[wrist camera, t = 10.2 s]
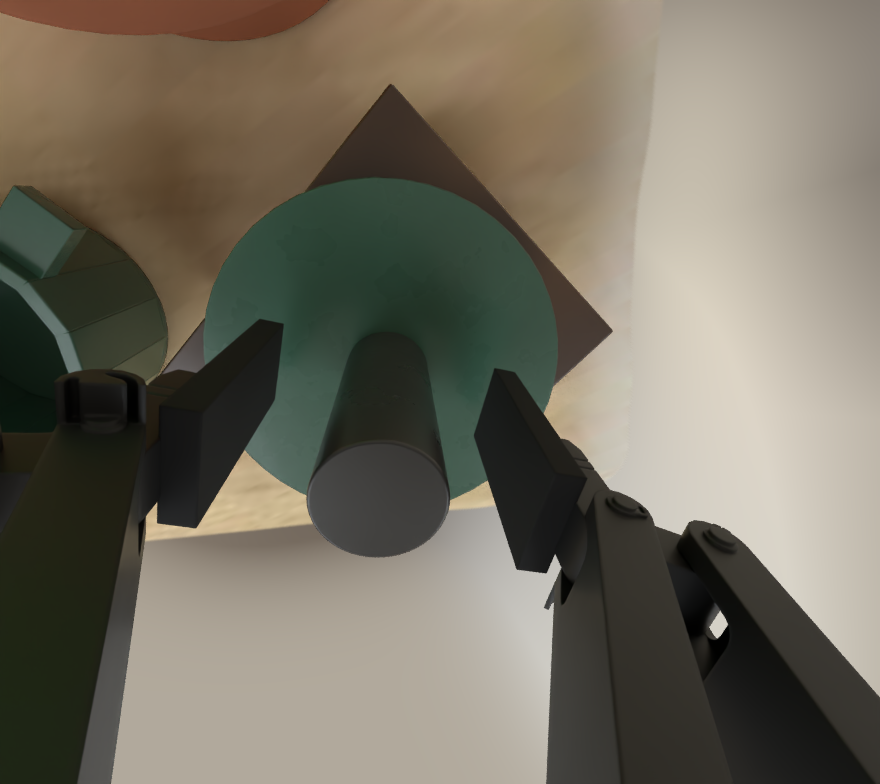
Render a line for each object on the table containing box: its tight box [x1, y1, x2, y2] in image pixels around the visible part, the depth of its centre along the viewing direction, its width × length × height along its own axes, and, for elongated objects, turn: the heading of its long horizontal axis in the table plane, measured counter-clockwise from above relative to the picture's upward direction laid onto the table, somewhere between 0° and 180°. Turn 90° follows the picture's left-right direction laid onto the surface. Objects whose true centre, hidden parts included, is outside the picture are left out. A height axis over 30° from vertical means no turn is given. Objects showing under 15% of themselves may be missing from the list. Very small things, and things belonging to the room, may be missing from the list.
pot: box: [0, 185, 168, 433], centre depth 23 cm, size 12×17×8 cm
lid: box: [203, 177, 558, 557], centre depth 14 cm, size 13×13×9 cm
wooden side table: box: [160, 84, 613, 386], centre depth 23 cm, size 12×14×11 cm
